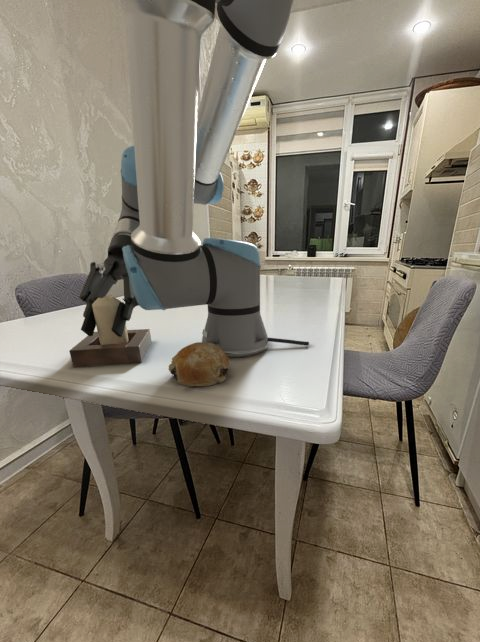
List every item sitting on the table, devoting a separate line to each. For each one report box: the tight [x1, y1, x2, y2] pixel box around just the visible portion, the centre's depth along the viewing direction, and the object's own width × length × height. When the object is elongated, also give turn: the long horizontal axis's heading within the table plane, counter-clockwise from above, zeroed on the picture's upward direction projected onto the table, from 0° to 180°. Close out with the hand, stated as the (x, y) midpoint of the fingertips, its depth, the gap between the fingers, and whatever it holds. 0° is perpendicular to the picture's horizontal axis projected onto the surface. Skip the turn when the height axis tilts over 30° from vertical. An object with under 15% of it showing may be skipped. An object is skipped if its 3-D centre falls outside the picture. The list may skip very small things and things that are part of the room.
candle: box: [92, 294, 128, 345], centre depth 61 cm, size 6×6×10 cm
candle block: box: [68, 328, 153, 368], centre depth 63 cm, size 13×13×4 cm
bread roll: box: [168, 341, 230, 388], centre depth 52 cm, size 10×10×8 cm
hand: (101, 333), depth 58 cm, fingers closed on candle, 5 cm apart
